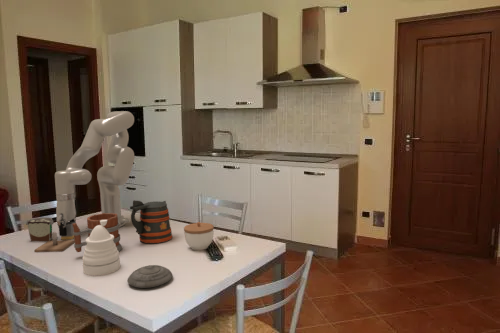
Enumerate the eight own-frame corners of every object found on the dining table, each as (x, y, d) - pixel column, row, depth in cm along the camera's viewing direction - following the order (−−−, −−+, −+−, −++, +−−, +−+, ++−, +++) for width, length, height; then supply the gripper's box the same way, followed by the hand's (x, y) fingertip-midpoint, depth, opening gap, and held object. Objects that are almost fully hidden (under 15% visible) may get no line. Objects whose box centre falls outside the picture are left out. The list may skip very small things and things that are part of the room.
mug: (128, 250, 163) (125, 215, 161) (82, 262, 149) (79, 225, 147) (113, 242, 172) (111, 210, 171) (68, 254, 159) (65, 219, 157)
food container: (60, 237, 182) (58, 217, 181) (52, 241, 176) (50, 220, 175) (36, 237, 183) (34, 217, 182) (27, 241, 177) (25, 220, 176)
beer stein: (145, 249, 163) (142, 203, 160) (124, 243, 172) (121, 199, 169) (178, 237, 178) (176, 195, 175) (158, 232, 187) (155, 192, 184)
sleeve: (76, 235, 184) (75, 221, 183) (72, 239, 179) (70, 224, 178) (66, 236, 184) (64, 222, 183) (61, 239, 179) (59, 225, 178)
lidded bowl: (219, 244, 167) (218, 219, 166) (204, 254, 156) (203, 227, 154) (195, 241, 173) (194, 217, 171) (178, 250, 161) (177, 224, 160)
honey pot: (108, 259, 152) (105, 215, 150) (127, 267, 144) (123, 220, 142) (76, 270, 142) (72, 223, 140) (94, 278, 134) (90, 228, 132)
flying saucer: (118, 285, 129) (116, 269, 128) (150, 269, 142) (150, 255, 141) (149, 295, 121) (149, 278, 120) (181, 277, 134) (181, 262, 133)
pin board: (75, 242, 175) (74, 227, 174) (62, 251, 163) (61, 235, 162) (48, 242, 174) (47, 228, 174) (34, 252, 163) (32, 236, 162)
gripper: (66, 193, 187) (68, 227, 189) (47, 201, 170) (50, 238, 172) (81, 193, 187) (83, 227, 190) (64, 200, 170) (67, 238, 172)
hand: (68, 232), depth 181 cm, fingers open, 9 cm apart
